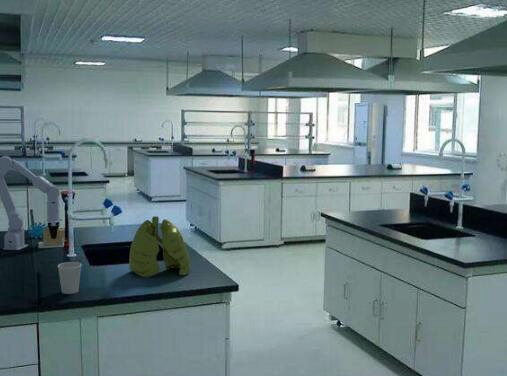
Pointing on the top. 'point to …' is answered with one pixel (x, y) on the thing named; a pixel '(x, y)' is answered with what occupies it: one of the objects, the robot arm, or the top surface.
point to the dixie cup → (69, 276)
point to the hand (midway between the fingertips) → (53, 237)
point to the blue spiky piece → (37, 230)
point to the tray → (50, 244)
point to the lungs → (148, 248)
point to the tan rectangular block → (58, 239)
